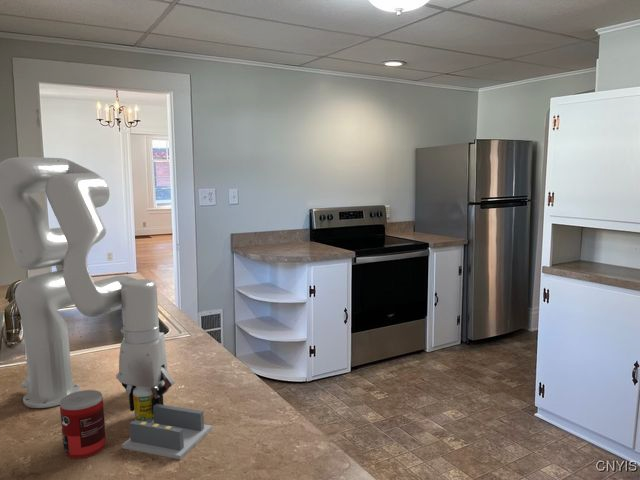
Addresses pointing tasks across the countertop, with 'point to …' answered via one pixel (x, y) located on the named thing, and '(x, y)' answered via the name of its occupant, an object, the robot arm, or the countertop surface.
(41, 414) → the countertop surface
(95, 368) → the countertop surface
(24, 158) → the robot arm
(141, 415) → the supplement bottle
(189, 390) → the countertop surface
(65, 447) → the canned food
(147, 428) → the socket block
